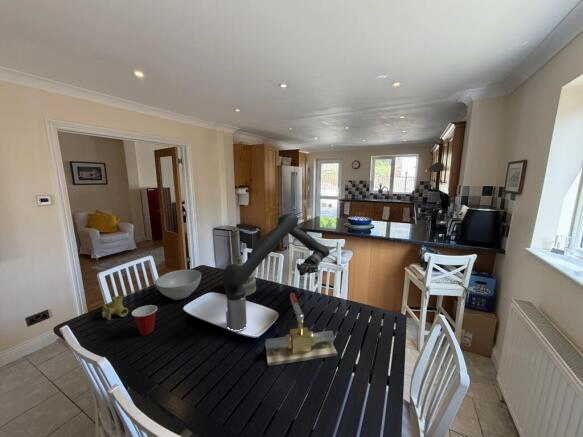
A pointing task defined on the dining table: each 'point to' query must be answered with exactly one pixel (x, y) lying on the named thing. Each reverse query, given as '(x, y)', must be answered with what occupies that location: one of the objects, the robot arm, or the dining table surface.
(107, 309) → the ball valve
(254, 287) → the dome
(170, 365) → the dining table surface
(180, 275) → the decorative bowl
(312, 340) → the valve line
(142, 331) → the plastic cup
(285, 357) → the mounting board
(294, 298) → the valve lever
